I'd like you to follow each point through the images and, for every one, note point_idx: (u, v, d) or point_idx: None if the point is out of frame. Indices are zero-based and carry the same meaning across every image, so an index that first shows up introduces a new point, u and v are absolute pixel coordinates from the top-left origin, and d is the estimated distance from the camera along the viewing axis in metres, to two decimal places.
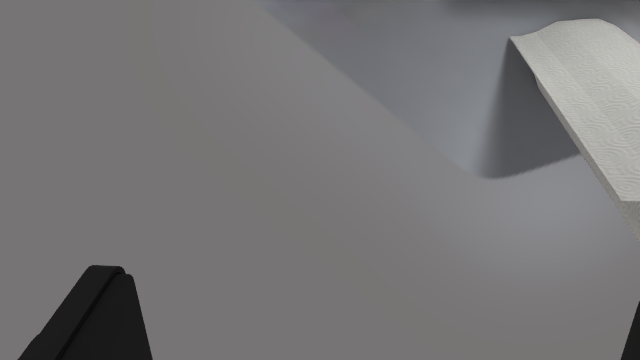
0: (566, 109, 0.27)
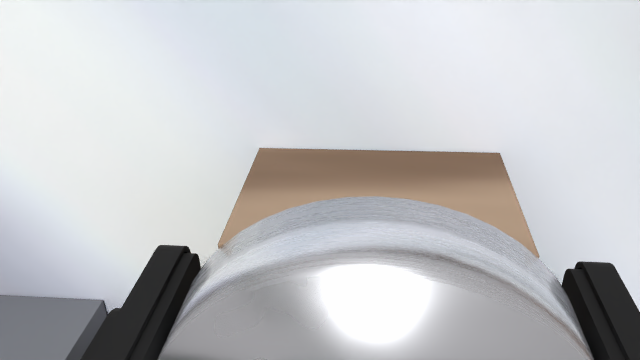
0: None
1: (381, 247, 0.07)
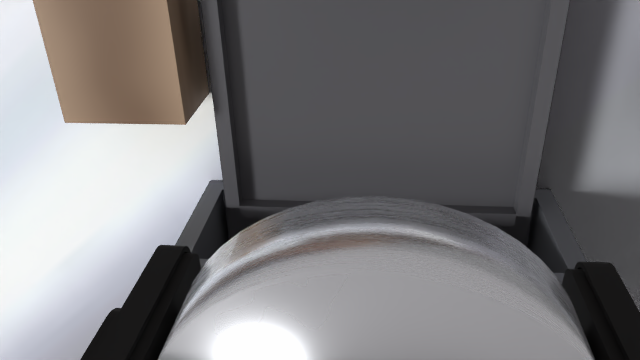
0: None
1: (382, 247, 0.07)
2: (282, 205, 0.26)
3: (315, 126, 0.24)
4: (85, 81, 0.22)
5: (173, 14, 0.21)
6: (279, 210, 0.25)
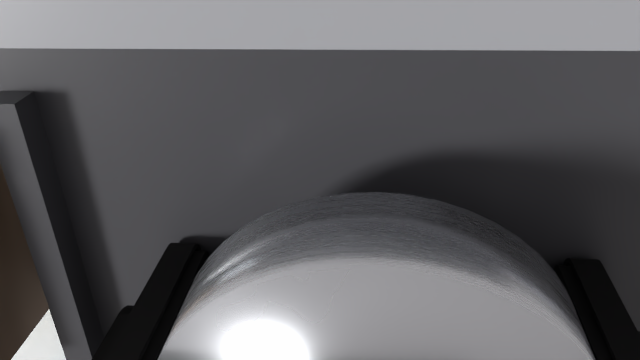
0: None
1: (382, 242, 0.07)
2: None
3: None
4: None
5: None
6: None
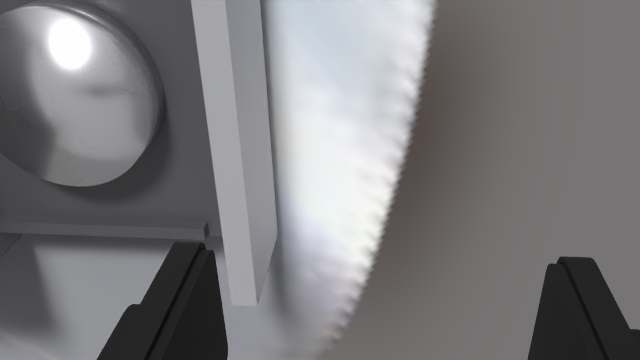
0: None
1: (152, 101, 0.21)
2: None
3: None
4: None
5: None
6: None
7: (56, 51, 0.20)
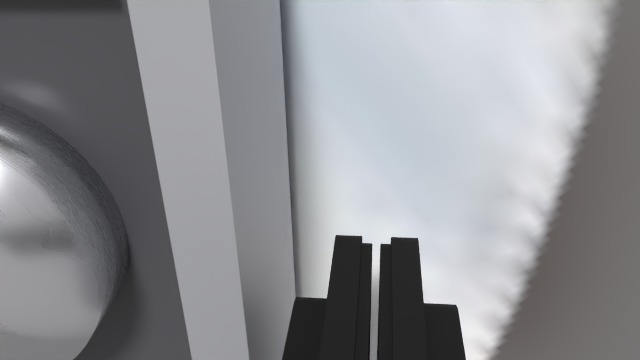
0: None
1: (104, 262, 0.13)
2: None
3: None
4: None
5: None
6: None
7: None
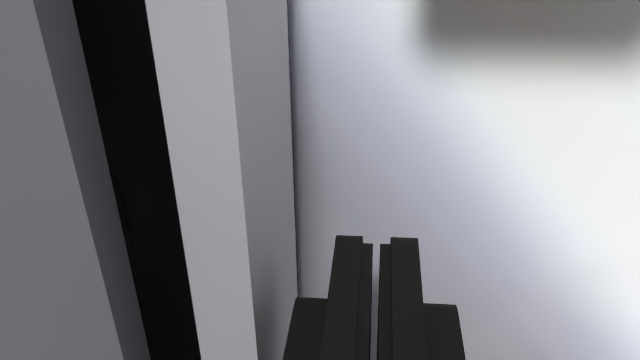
0: None
1: None
2: None
3: None
4: None
5: None
6: None
7: None
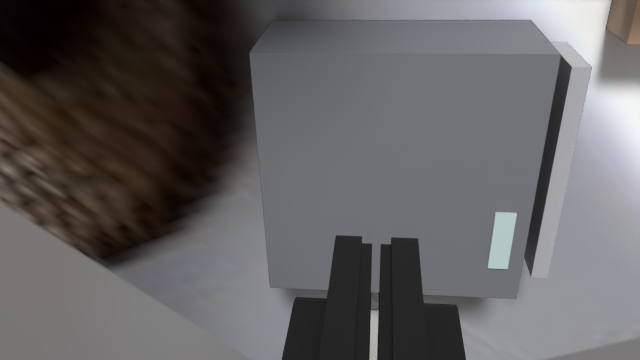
0: None
1: None
2: None
3: None
4: None
5: None
6: None
7: None
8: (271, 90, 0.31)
